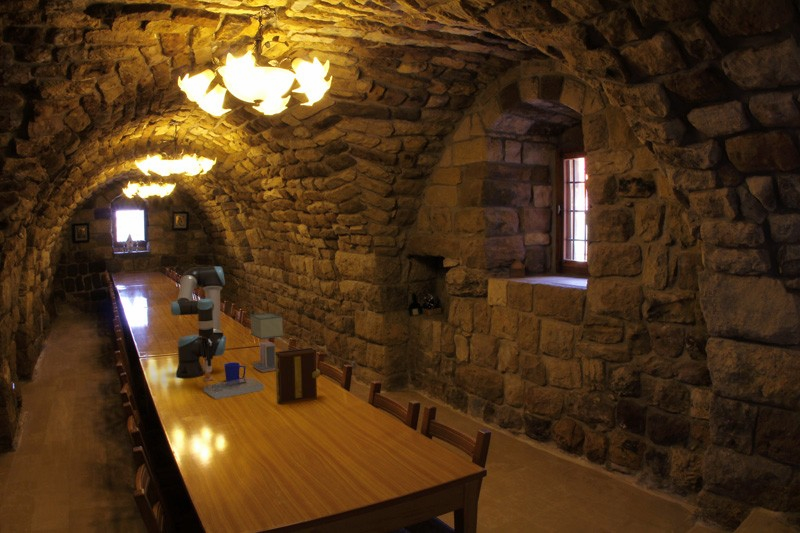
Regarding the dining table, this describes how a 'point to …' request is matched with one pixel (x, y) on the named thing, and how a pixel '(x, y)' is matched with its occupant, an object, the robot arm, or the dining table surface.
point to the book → (296, 375)
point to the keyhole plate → (233, 388)
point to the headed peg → (207, 374)
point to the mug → (233, 371)
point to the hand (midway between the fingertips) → (207, 370)
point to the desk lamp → (264, 329)
